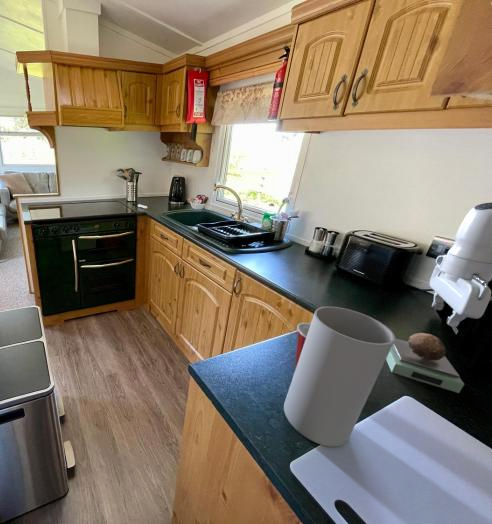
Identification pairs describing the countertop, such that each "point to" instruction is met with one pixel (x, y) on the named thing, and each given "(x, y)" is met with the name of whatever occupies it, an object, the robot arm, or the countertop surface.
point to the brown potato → (426, 346)
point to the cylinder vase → (336, 374)
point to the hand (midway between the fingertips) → (443, 316)
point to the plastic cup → (301, 338)
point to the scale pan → (411, 358)
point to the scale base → (423, 374)
